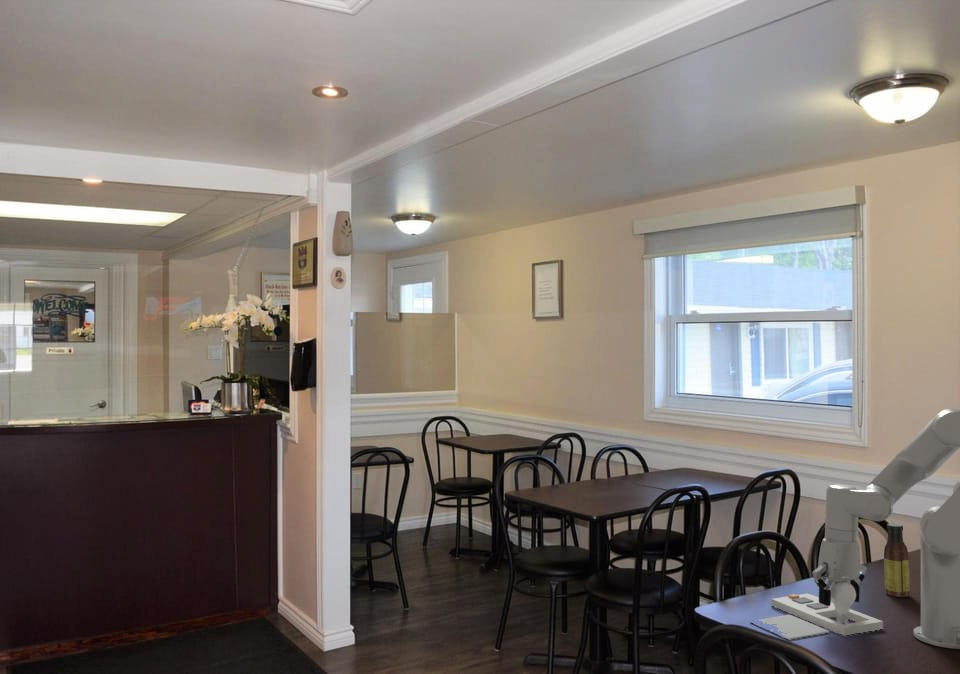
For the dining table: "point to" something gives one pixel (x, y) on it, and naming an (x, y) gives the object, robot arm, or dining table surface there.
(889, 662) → the dining table surface
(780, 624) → the mat
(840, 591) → the lightbulb
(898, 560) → the sauce bottle
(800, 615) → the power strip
